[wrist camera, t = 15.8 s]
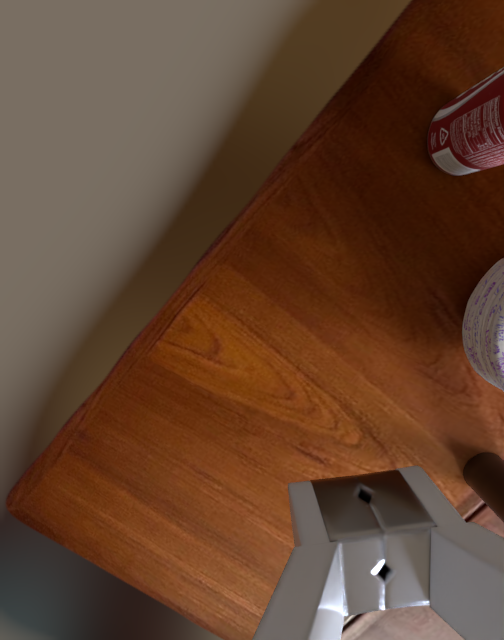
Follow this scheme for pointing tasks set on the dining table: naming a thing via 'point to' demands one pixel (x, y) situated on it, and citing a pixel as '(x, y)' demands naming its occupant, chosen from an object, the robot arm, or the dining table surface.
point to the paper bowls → (486, 326)
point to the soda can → (470, 129)
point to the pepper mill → (487, 480)
